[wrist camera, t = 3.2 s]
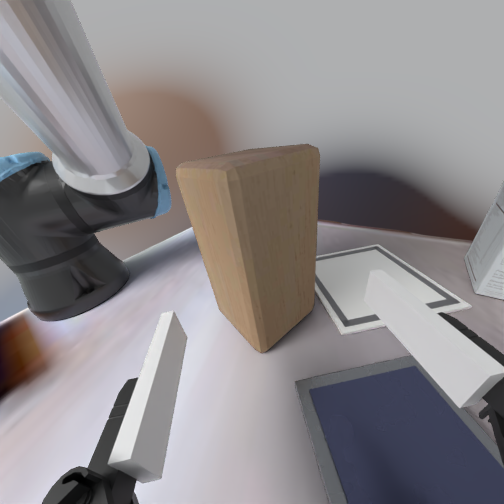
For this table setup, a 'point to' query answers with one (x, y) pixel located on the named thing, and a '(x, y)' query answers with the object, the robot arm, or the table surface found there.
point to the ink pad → (397, 439)
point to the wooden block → (257, 234)
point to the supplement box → (489, 252)
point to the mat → (355, 284)
